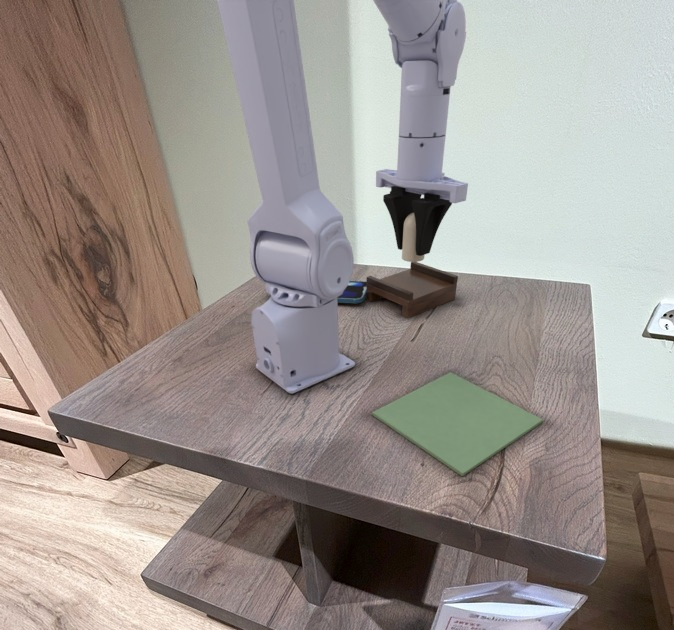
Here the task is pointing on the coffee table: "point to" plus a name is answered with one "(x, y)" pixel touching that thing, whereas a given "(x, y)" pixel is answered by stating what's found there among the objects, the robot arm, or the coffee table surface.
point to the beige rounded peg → (410, 240)
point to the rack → (414, 288)
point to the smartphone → (353, 292)
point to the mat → (457, 421)
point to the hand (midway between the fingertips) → (413, 250)
